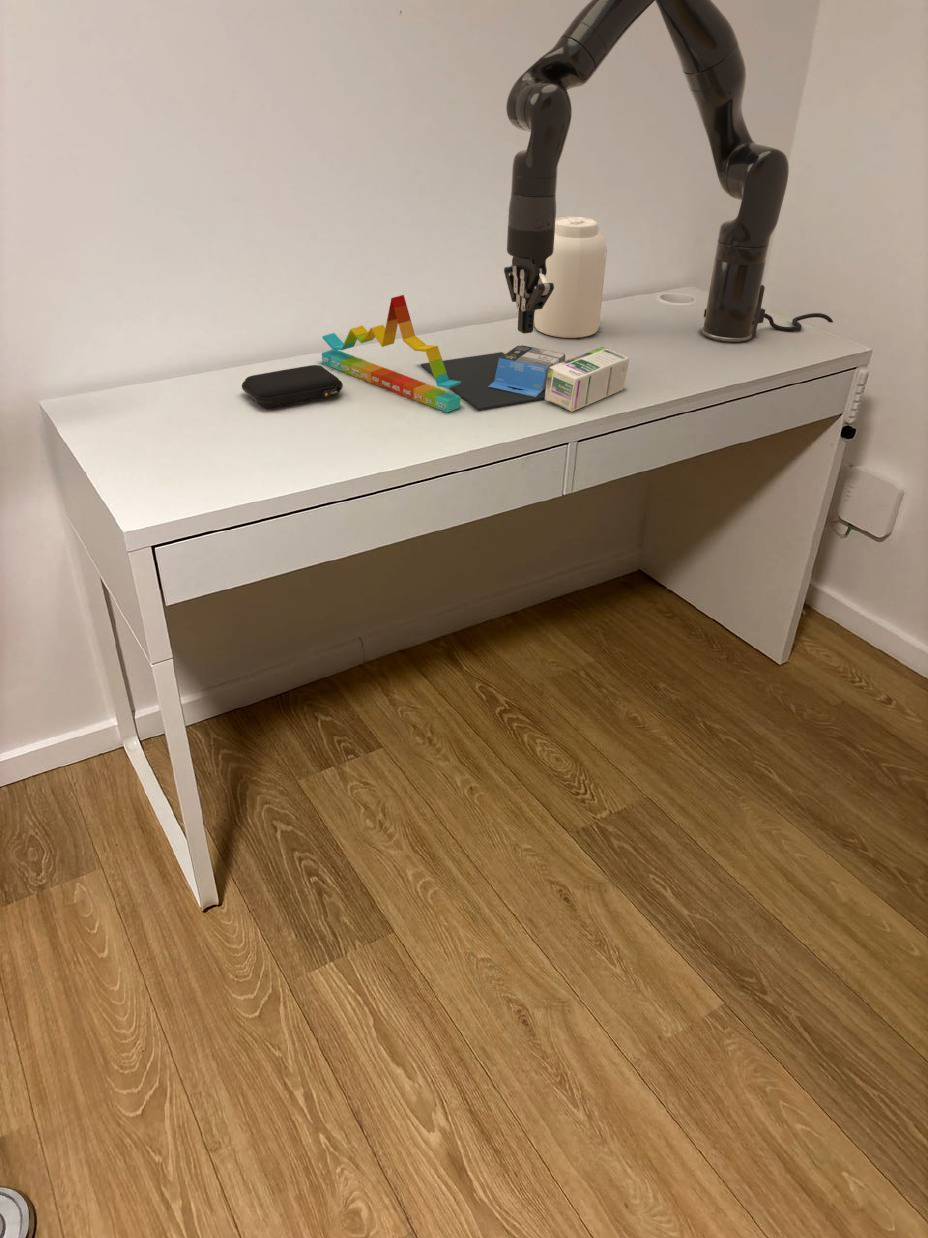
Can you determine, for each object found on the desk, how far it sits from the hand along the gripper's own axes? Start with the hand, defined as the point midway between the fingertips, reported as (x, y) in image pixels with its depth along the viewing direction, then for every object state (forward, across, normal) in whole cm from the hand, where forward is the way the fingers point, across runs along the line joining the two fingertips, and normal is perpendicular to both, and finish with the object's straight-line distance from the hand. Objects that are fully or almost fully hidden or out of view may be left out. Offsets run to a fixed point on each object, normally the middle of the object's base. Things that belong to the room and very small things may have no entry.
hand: (525, 331), depth 164 cm
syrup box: (+4, -11, -11) cm, 16 cm away
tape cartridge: (+5, -1, -3) cm, 6 cm away
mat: (+7, -2, +7) cm, 10 cm away
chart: (+7, +3, +24) cm, 25 cm away
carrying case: (+7, +4, +40) cm, 40 cm away
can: (+7, +18, -20) cm, 27 cm away
